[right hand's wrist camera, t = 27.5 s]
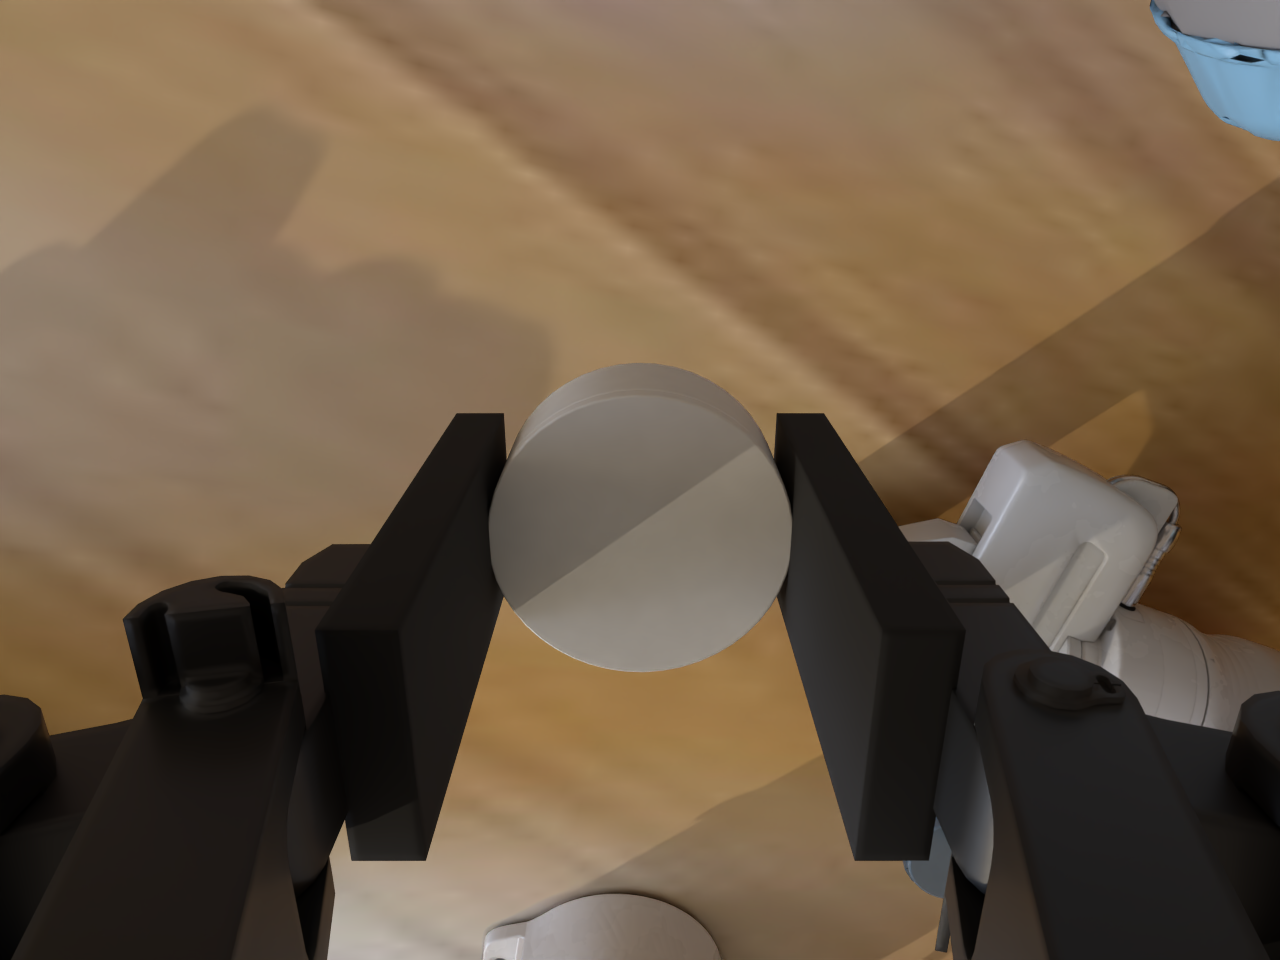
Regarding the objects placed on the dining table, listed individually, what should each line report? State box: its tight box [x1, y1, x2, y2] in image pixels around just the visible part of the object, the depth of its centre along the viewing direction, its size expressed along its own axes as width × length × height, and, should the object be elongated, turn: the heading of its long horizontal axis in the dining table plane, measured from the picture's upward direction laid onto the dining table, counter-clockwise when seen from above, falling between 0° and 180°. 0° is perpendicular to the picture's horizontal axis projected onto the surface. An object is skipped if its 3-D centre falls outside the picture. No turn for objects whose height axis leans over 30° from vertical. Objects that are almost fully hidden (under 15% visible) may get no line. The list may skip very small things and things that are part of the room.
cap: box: [488, 363, 792, 672], centre depth 13 cm, size 4×4×2 cm
